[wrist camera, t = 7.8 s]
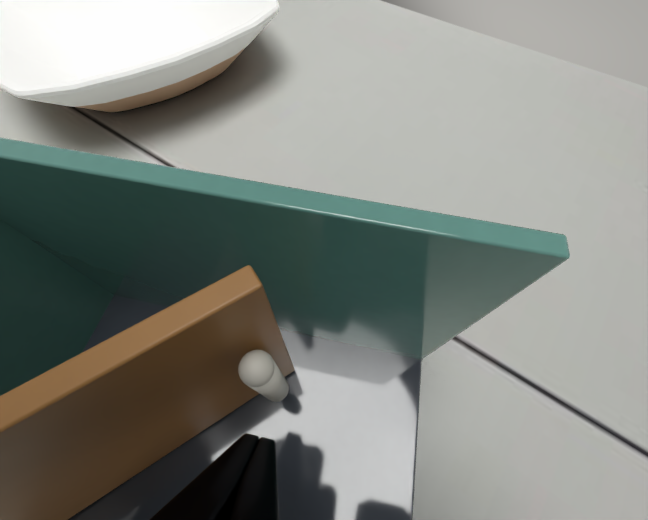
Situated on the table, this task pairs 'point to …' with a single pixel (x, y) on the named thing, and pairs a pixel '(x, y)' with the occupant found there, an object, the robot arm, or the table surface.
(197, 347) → the brown hinged door
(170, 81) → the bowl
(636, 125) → the table surface
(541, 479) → the table surface
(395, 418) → the shower stall
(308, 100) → the table surface
